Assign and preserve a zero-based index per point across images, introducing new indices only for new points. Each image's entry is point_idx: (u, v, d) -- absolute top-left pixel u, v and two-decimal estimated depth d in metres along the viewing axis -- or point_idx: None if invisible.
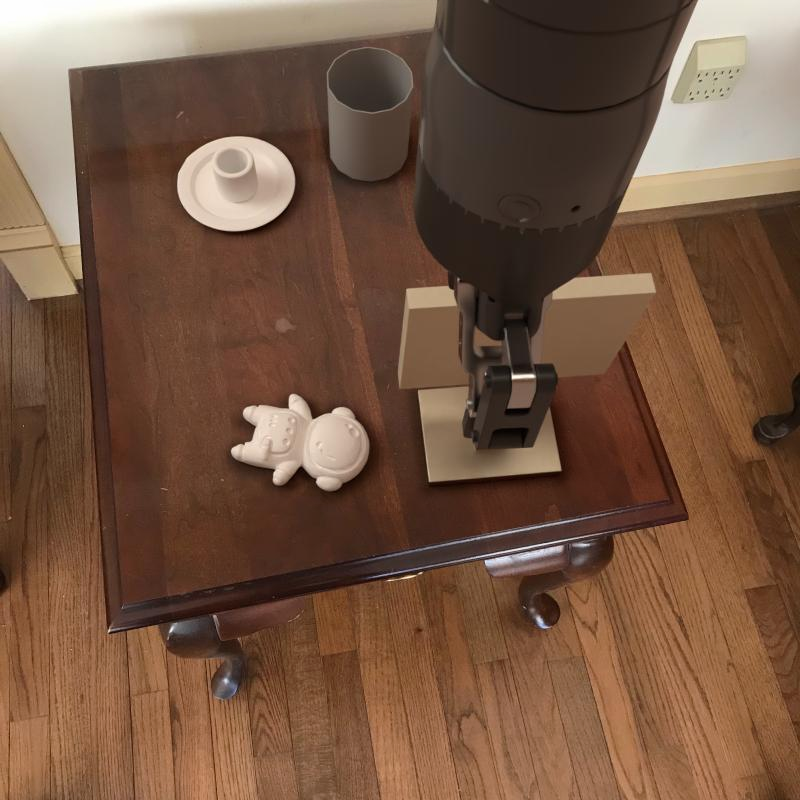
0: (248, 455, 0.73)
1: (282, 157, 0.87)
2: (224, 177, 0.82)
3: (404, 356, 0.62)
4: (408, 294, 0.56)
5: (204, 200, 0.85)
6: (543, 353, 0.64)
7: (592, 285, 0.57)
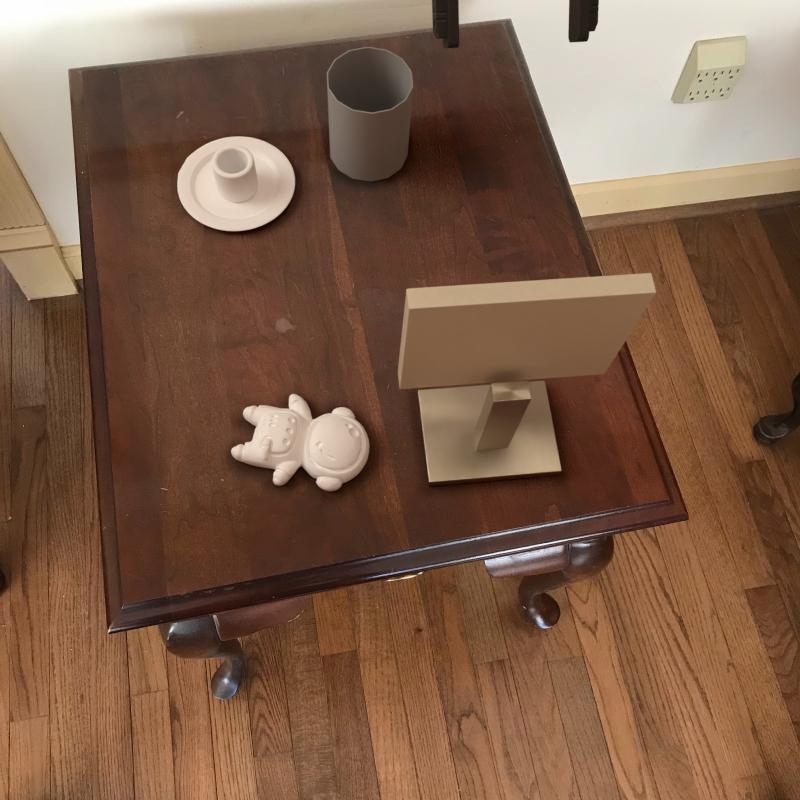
0: (248, 455, 0.73)
1: (282, 157, 0.87)
2: (224, 177, 0.82)
3: (404, 356, 0.62)
4: (408, 294, 0.56)
5: (204, 200, 0.85)
6: (543, 353, 0.64)
7: (592, 285, 0.57)
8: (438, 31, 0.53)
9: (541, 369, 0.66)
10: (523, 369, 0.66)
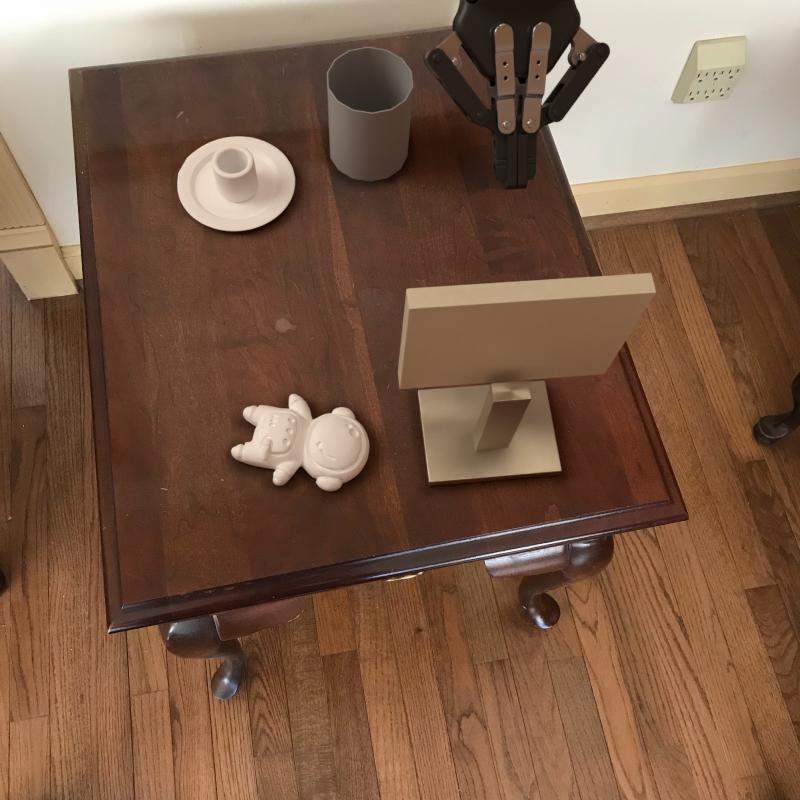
0: (248, 455, 0.73)
1: (282, 157, 0.87)
2: (224, 177, 0.82)
3: (404, 356, 0.62)
4: (408, 294, 0.56)
5: (204, 200, 0.85)
6: (543, 353, 0.64)
7: (592, 285, 0.57)
8: (498, 175, 0.59)
9: (541, 369, 0.66)
10: (523, 369, 0.66)
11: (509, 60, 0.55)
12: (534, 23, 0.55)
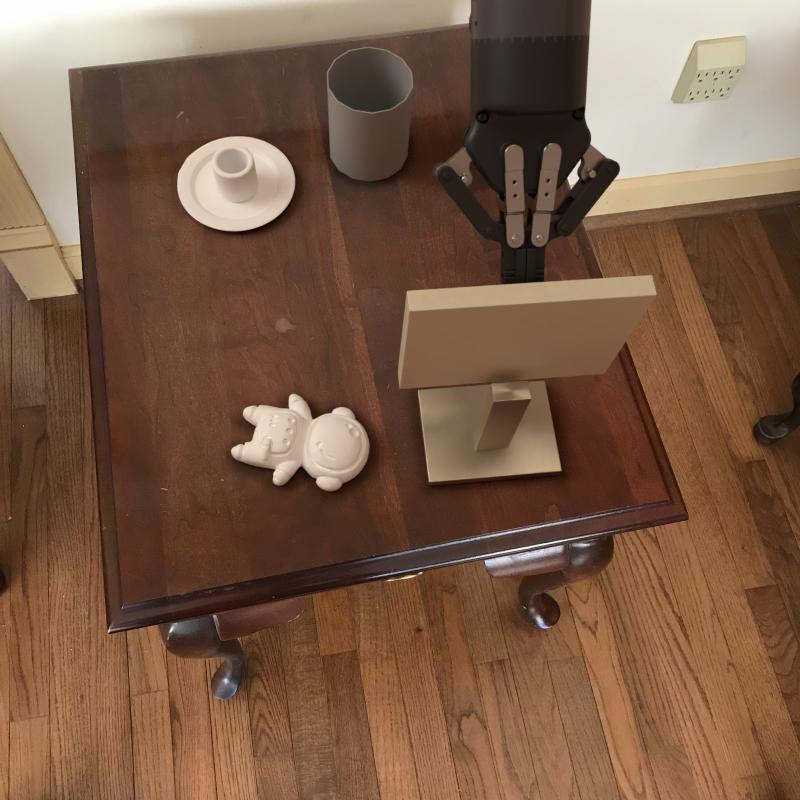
0: (248, 455, 0.73)
1: (282, 157, 0.87)
2: (224, 177, 0.82)
3: (404, 357, 0.62)
4: (408, 296, 0.56)
5: (204, 200, 0.85)
6: (543, 354, 0.64)
7: (593, 287, 0.57)
8: None
9: (541, 369, 0.66)
10: (523, 369, 0.66)
11: (519, 179, 0.55)
12: (544, 142, 0.55)
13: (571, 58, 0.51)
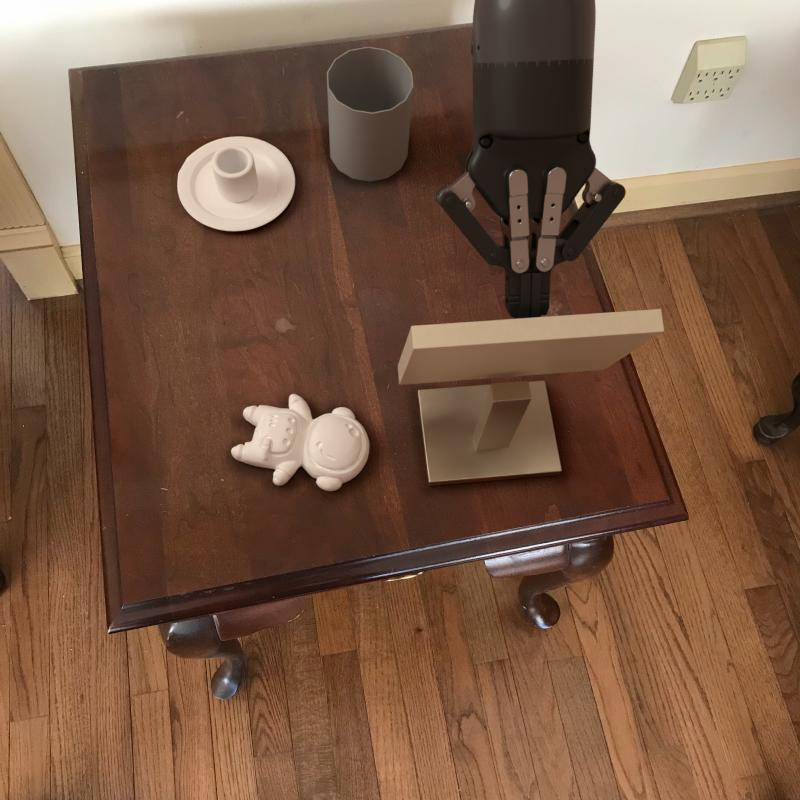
0: (248, 455, 0.73)
1: (282, 157, 0.87)
2: (224, 177, 0.82)
3: (406, 370, 0.61)
4: (413, 332, 0.55)
5: (204, 200, 0.85)
6: (544, 363, 0.64)
7: (600, 323, 0.56)
8: (511, 311, 0.58)
9: (541, 370, 0.66)
10: (523, 371, 0.66)
11: (523, 204, 0.54)
12: (549, 166, 0.54)
13: (576, 82, 0.50)
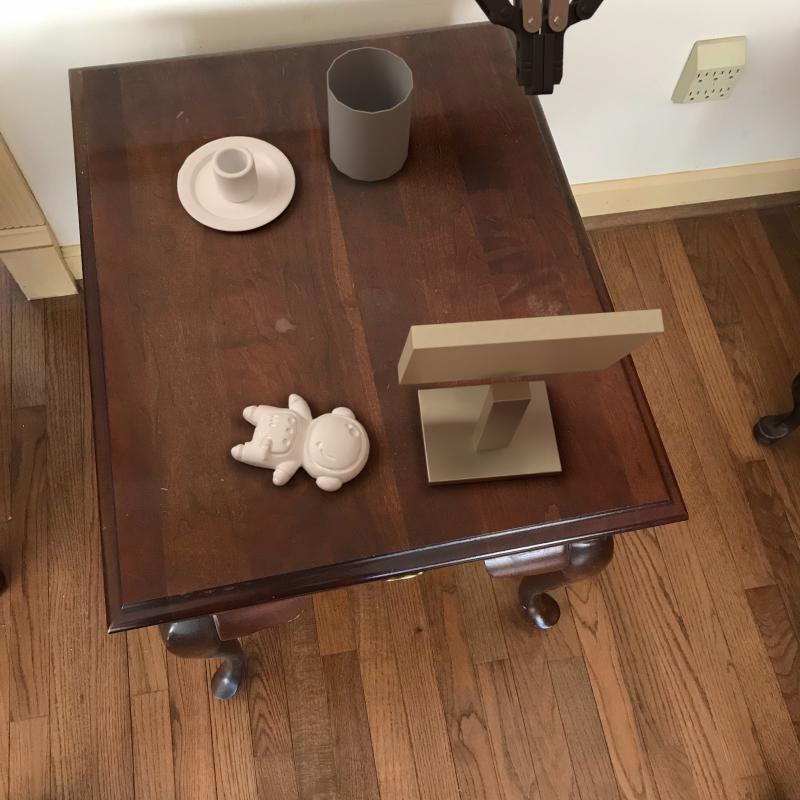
0: (248, 455, 0.73)
1: (282, 157, 0.87)
2: (224, 177, 0.82)
3: (406, 370, 0.61)
4: (413, 332, 0.55)
5: (204, 200, 0.85)
6: (544, 363, 0.64)
7: (600, 323, 0.56)
8: (522, 79, 0.55)
9: (541, 370, 0.66)
10: (523, 371, 0.66)
11: None
12: None
13: None
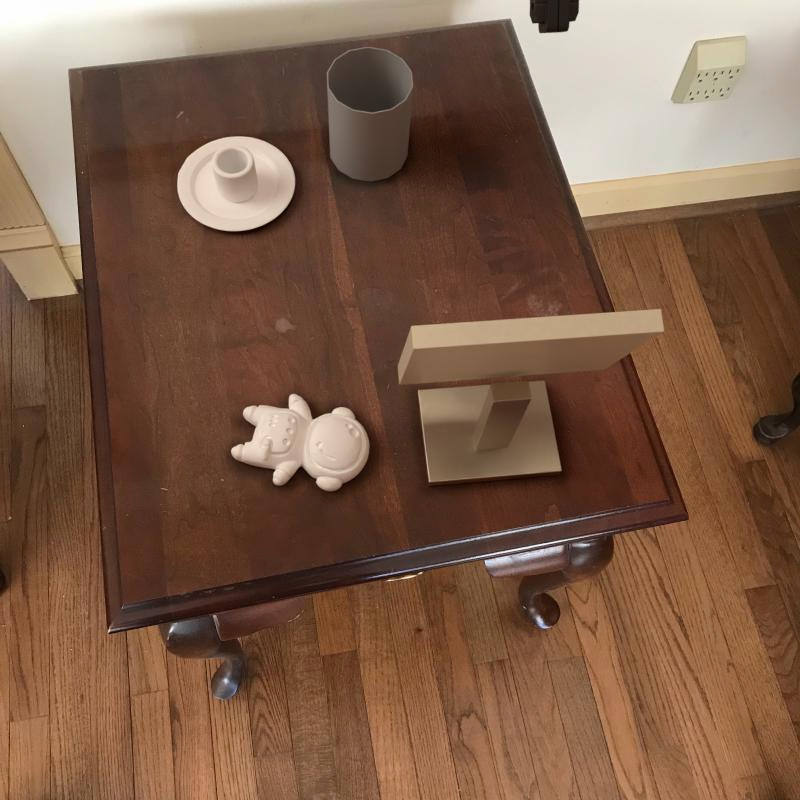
0: (248, 455, 0.73)
1: (282, 157, 0.87)
2: (224, 177, 0.82)
3: (406, 370, 0.61)
4: (413, 332, 0.55)
5: (204, 200, 0.85)
6: (544, 363, 0.64)
7: (600, 323, 0.56)
8: (537, 15, 0.53)
9: (541, 370, 0.66)
10: (523, 371, 0.66)
11: None
12: None
13: None
